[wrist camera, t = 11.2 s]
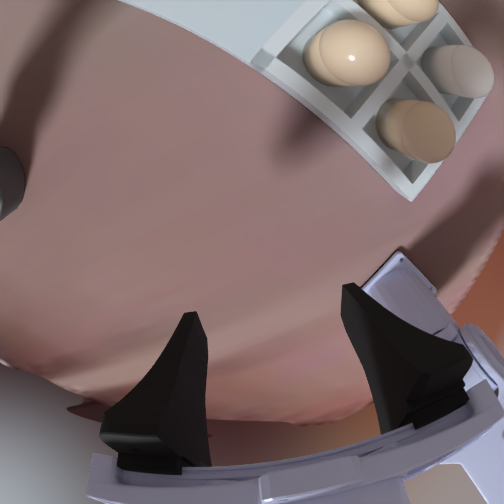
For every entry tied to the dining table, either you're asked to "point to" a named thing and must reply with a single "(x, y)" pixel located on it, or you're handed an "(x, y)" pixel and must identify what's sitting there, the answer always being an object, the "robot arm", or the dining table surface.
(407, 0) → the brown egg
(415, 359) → the robot arm
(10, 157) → the candle holder
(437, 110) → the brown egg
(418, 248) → the dining table surface
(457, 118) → the egg carton
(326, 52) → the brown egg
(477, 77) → the white egg
